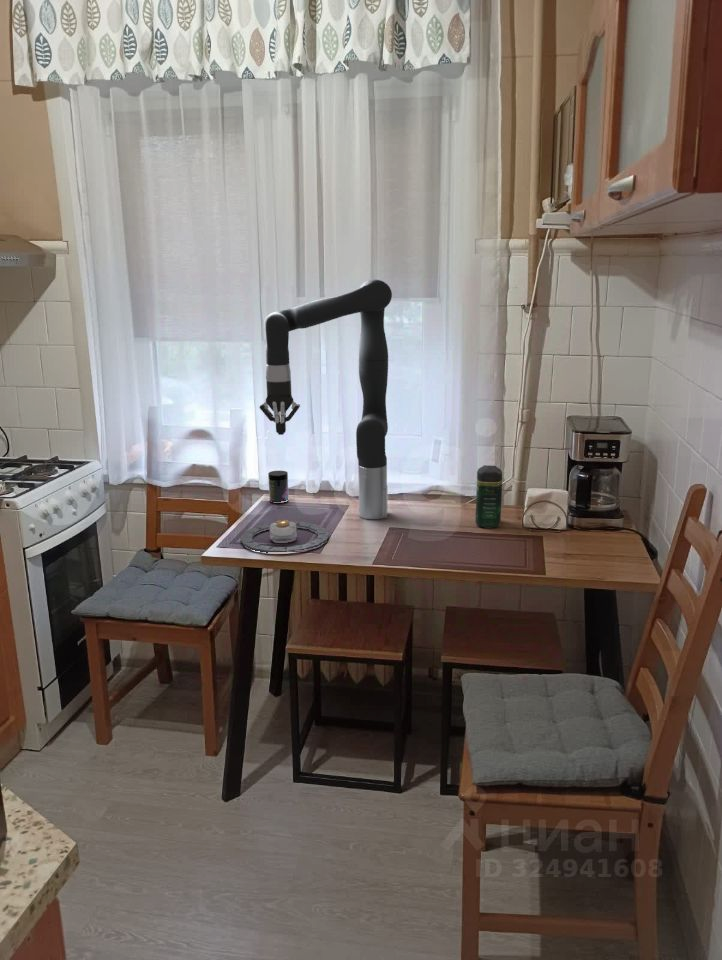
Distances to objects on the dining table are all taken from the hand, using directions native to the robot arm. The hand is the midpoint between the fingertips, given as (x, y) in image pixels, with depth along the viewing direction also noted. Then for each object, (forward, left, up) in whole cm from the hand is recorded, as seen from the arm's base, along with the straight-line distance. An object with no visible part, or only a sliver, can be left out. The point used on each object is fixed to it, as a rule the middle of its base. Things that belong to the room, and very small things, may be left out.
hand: (281, 434), depth 247 cm
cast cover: (-2, +16, -29) cm, 33 cm away
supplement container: (+6, -22, -29) cm, 37 cm away
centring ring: (-3, +16, -29) cm, 33 cm away
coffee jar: (-65, -1, -29) cm, 71 cm away
